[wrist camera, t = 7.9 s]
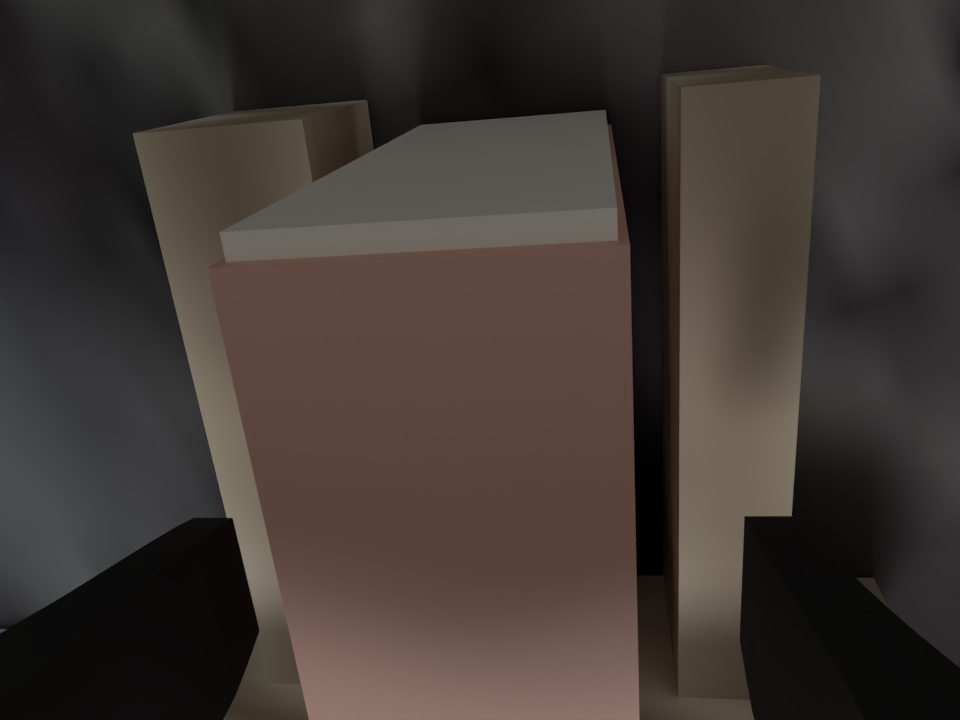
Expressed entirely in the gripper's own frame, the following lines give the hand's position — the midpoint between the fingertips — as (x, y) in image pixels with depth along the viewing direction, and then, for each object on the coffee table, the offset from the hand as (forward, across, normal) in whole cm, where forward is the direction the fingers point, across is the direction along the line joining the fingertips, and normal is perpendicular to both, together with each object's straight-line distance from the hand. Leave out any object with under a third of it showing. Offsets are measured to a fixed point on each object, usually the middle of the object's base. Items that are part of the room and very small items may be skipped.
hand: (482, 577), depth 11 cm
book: (+8, 0, 0) cm, 8 cm away
